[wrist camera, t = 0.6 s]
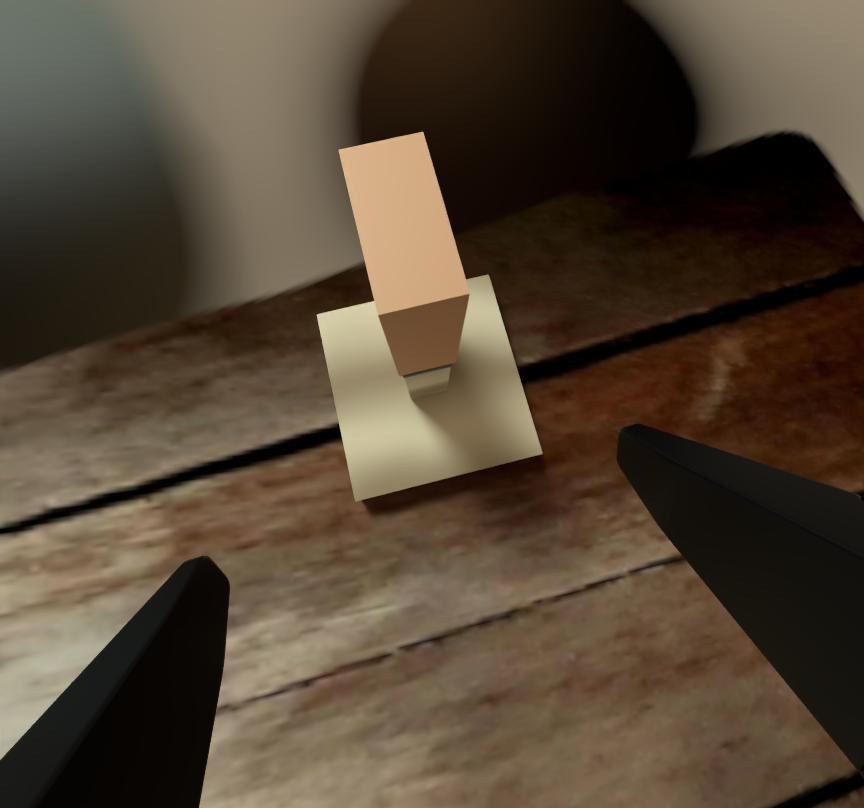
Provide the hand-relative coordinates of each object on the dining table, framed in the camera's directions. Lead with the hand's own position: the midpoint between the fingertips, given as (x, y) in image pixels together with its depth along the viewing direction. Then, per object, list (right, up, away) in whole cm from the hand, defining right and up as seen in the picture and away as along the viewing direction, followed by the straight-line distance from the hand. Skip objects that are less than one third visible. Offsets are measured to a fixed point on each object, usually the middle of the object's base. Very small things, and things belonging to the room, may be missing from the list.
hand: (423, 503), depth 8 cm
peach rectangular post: (-1, +6, +8) cm, 10 cm away
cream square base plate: (0, +3, +14) cm, 14 cm away
